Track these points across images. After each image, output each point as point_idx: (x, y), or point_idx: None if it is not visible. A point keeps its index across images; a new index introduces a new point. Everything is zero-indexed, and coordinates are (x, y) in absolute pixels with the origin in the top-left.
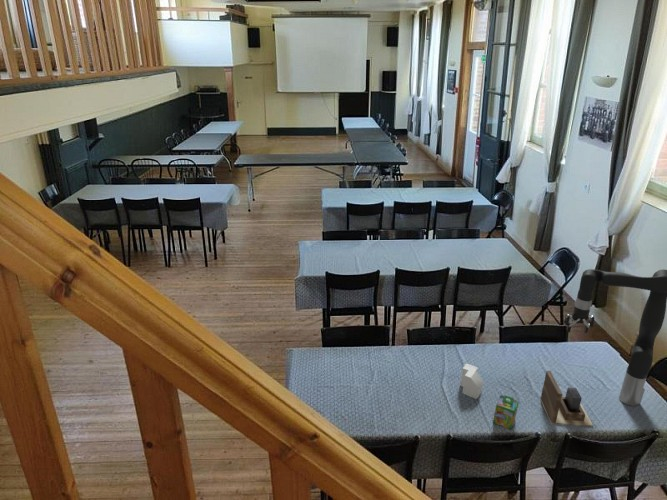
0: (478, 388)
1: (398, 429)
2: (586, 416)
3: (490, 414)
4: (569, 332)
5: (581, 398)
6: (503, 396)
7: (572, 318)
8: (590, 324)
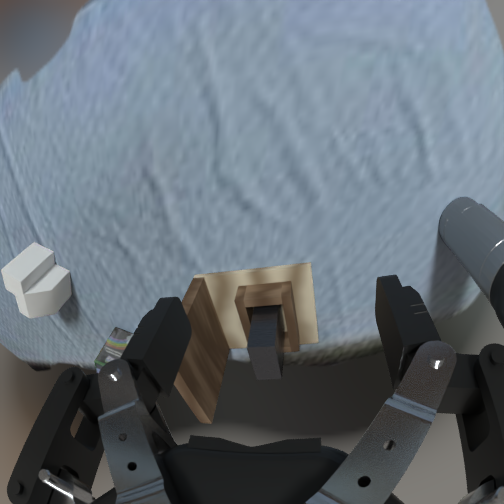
0: (56, 311)
1: (36, 355)
2: (311, 321)
3: (106, 330)
4: (189, 329)
5: (281, 378)
6: (99, 365)
7: (116, 466)
8: (464, 411)
